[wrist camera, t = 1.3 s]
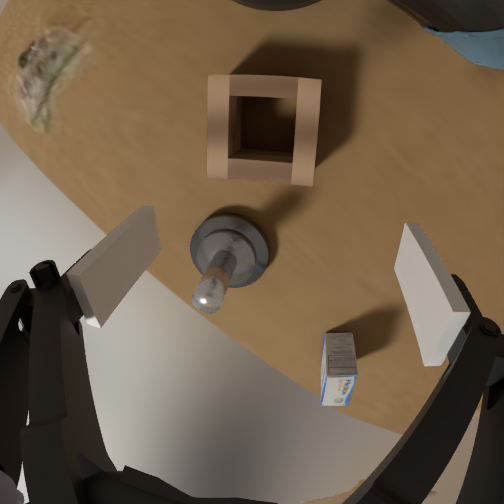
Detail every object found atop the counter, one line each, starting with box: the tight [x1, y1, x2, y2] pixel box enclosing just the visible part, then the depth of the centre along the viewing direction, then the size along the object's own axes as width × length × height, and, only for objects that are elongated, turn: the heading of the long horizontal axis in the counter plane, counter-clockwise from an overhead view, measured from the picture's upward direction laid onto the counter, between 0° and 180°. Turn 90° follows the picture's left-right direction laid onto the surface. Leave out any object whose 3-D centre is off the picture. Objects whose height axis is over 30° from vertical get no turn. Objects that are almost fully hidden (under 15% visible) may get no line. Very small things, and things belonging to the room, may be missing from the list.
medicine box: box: [321, 333, 358, 406], centre depth 40 cm, size 8×4×9 cm, turn 5°
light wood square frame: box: [207, 75, 321, 187], centre depth 27 cm, size 10×10×6 cm
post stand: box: [190, 213, 269, 314], centre depth 33 cm, size 10×10×11 cm
